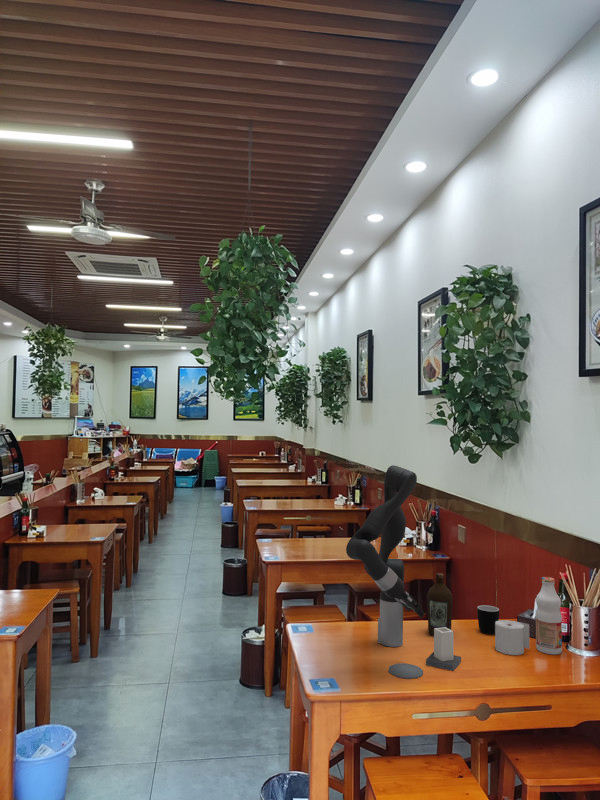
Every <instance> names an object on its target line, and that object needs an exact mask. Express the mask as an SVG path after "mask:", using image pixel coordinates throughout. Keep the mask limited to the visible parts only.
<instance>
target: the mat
mask: <svg viewBox="0 0 600 800" xmlns="http://www.w3.org/2000/svg"><path fill="white" fill-rule="evenodd" d="M388 673H389V674H390V675H392V676H394V677H396V678H400V679H406V680H413V679H412V678H415V679H419V678H421V677H423V676H422V675H424V670H423V669H422V668H421V667H420V666H418V665H415V664H411V663H404V662H401V663H400V662H399V663H394V664H391V665H389V666H388ZM418 677H419V678H418Z"/></svg>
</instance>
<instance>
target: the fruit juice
mask: <svg viewBox="0 0 600 800" xmlns="http://www.w3.org/2000/svg"><path fill="white" fill-rule="evenodd" d="M555 583H556V579H555V578H553V577H550V576H542V577H541V584H542V585H541V587H540V591H539V592H538V594H537V595H536V598H535V602H536V606H537V608H536V610H535V646H536V647H535V648H536V650H538V652H539V653H540V652H541V653H543V654H547V655H560V654H562V652H563V629H562V628H563V624H562V623H563V622H562V621H563V619H562V617H563V616H562V612H561V606H562V600H561V598H560V596H559V595H558V593H557V591H556V589H555V588H556V587H555Z"/></svg>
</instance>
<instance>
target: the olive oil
mask: <svg viewBox="0 0 600 800" xmlns="http://www.w3.org/2000/svg"><path fill="white" fill-rule="evenodd" d="M453 600H454V599H453V594H452V592H451V590H450V588H448V586H447V585H446V584H445V578H444V573H440V572H439V573H438V572H437V573H435V583H434V584H433V585H432V586H431V587H430V588H429V589H428V591H427V595H426V606H427V633H428V635H430V636H432V637H434V628H443V627H446V628H448V629H450V630H452V620H453V619H452V618H453V616H452V615H453Z"/></svg>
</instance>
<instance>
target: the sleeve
mask: <svg viewBox="0 0 600 800" xmlns="http://www.w3.org/2000/svg"><path fill="white" fill-rule="evenodd" d="M454 633H455V632H454V631H453V630H452V629H451V630H450V629H448V628H446V627H443V628H434V636H433V652H434V657H436V658H437V659H439V660H441V661H448V660H453V657H454V655H455V654H454V652H455V651H454V649H455V648H454V647H455V646H454V640H455V639H454V637H455V636H454Z"/></svg>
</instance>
